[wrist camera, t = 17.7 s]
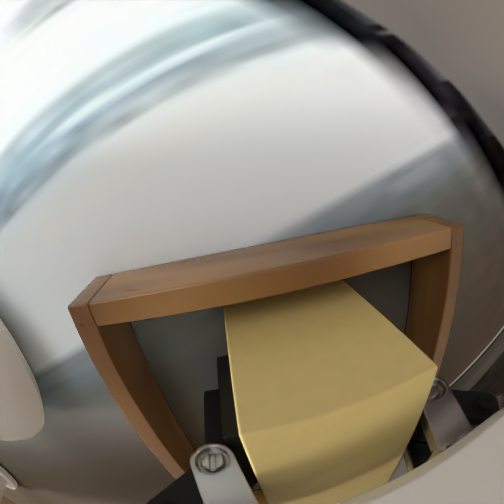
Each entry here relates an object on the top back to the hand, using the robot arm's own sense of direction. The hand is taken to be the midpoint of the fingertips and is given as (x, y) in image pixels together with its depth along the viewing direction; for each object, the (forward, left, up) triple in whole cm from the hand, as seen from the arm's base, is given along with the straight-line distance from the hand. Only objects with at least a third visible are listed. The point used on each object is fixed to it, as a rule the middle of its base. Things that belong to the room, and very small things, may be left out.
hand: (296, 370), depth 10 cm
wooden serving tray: (0, -4, -1) cm, 5 cm away
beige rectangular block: (0, 0, -1) cm, 1 cm away
